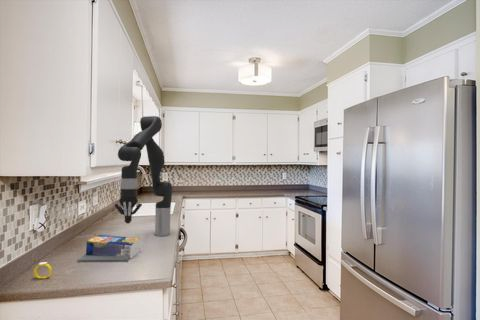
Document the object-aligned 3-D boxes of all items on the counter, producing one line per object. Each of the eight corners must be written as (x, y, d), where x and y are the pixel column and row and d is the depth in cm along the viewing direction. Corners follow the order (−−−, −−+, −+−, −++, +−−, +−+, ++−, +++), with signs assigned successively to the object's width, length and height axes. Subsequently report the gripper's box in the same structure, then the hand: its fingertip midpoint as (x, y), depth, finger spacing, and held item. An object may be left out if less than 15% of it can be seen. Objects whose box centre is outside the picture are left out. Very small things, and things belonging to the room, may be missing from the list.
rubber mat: (92, 250, 143) (92, 248, 143) (136, 250, 145) (137, 248, 145) (77, 262, 127) (77, 259, 127) (127, 261, 129) (127, 259, 129)
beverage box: (141, 238, 144) (99, 234, 145) (131, 244, 133) (86, 240, 134) (140, 251, 144) (98, 247, 145) (130, 259, 133) (85, 255, 134)
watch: (32, 280, 108) (31, 265, 108) (37, 277, 111) (36, 262, 111) (49, 278, 109) (48, 263, 109) (53, 276, 112) (52, 261, 112)
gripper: (144, 187, 141) (143, 221, 141) (117, 186, 140) (116, 221, 140) (140, 188, 134) (139, 224, 134) (112, 188, 133) (111, 224, 133)
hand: (128, 223), depth 137 cm, fingers closed
